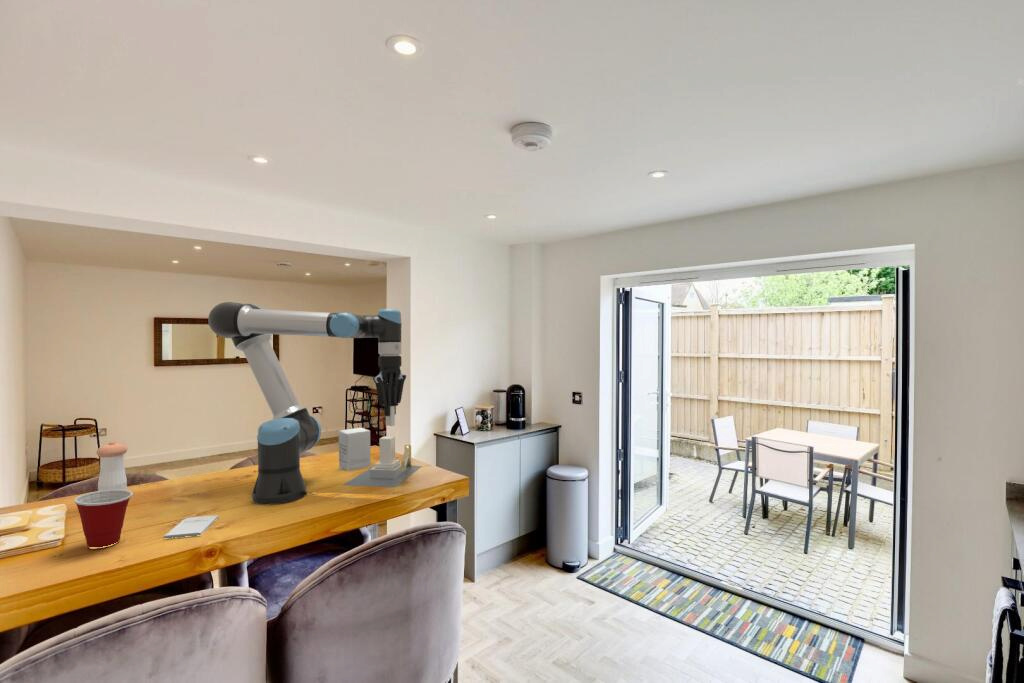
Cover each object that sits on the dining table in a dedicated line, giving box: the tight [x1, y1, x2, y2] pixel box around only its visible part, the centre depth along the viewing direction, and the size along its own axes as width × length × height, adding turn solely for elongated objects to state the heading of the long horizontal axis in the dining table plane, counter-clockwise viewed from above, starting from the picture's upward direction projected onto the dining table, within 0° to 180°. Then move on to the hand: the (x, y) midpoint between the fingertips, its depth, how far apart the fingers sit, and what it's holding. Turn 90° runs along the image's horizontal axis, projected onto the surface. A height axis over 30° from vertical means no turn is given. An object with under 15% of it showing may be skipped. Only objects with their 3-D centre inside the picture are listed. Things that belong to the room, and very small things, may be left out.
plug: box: [374, 435, 401, 469], centre depth 170 cm, size 6×6×13 cm
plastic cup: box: [74, 489, 134, 547], centre depth 117 cm, size 11×11×12 cm
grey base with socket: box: [343, 462, 422, 488], centre depth 170 cm, size 18×26×4 cm
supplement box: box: [338, 427, 372, 471], centre depth 182 cm, size 9×9×15 cm
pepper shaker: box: [96, 440, 128, 491], centre depth 144 cm, size 7×7×19 cm
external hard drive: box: [162, 515, 219, 538], centre depth 127 cm, size 2×8×12 cm
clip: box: [400, 444, 412, 470], centre depth 170 cm, size 2×25×7 cm, turn 8°
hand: (390, 425), depth 165 cm, fingers closed
